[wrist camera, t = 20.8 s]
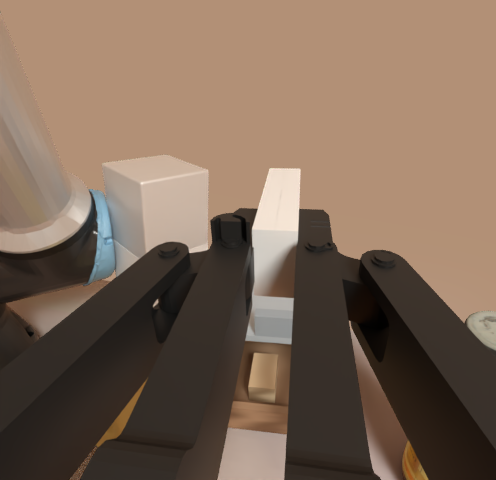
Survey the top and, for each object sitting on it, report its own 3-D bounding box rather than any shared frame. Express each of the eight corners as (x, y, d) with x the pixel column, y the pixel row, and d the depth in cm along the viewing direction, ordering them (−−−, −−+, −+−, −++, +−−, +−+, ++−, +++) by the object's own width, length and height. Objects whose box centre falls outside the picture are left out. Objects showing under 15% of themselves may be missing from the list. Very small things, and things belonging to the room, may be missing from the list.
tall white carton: (173, 306, 55) (166, 153, 44) (207, 334, 50) (210, 169, 39) (122, 330, 49) (100, 162, 38) (155, 366, 44) (140, 182, 33)
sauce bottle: (410, 438, 35) (458, 284, 26) (479, 478, 32) (564, 316, 22) (388, 494, 31) (436, 333, 22) (466, 548, 27) (564, 383, 18)
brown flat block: (218, 426, 37) (216, 405, 36) (238, 340, 49) (237, 322, 47) (348, 441, 35) (352, 421, 34) (338, 348, 47) (340, 329, 45)
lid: (229, 339, 44) (227, 314, 42) (245, 281, 55) (243, 259, 53) (346, 348, 41) (350, 322, 40) (337, 286, 53) (340, 263, 51)
